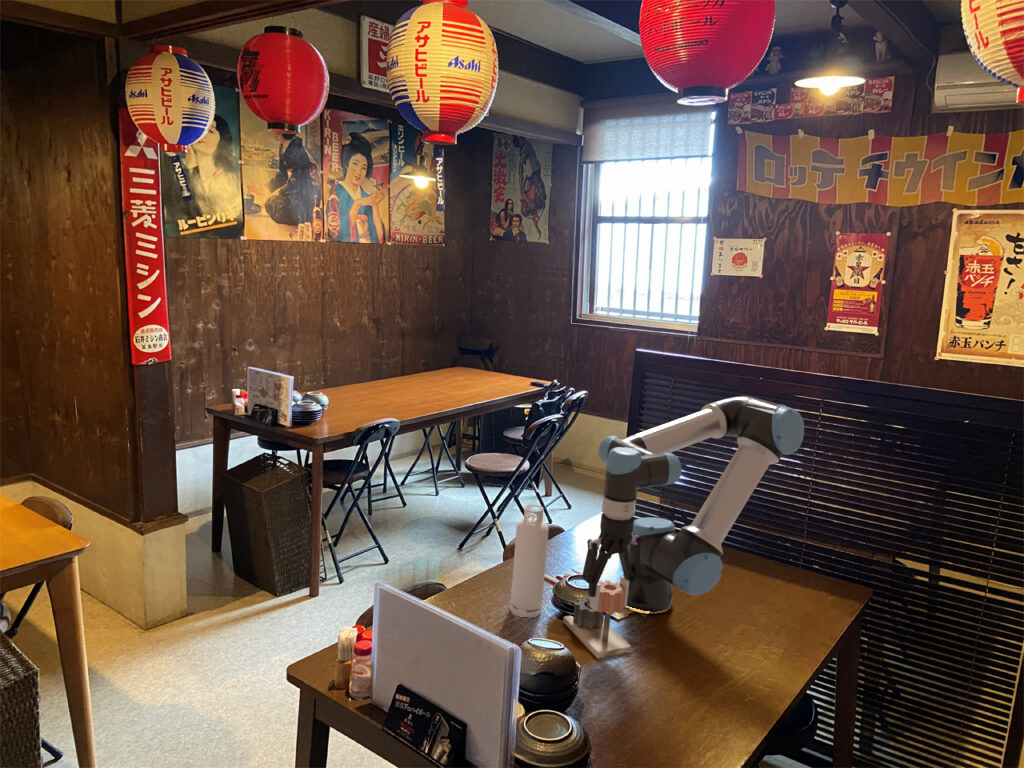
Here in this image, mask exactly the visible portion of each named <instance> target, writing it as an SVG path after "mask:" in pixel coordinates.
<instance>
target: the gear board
mask: <svg viewBox="0 0 1024 768" xmlns="http://www.w3.org/2000/svg"><path fill="white" fill-rule="evenodd" d="M587 597H588V598H587V600H586V598H581V599H580V597H579V598H577V599H576V602H574V608H573V615H574V617H573V616H571V615H565V616H563V620H562V621H563V624H564V625H565V626H566V627H567V628H568V629H569V630H570V631H571V632H572V633H573V635H575V636H576V638H577V639H578V640H579V641H580V642H581V643H582V644H583V645H584V646H585V647H586V648H587V650H589V652H591V654H593V655H594V657H596V658H597V659H603V658H608V657H612V656H617V654H618V655H622V654H621V653H623V654H626V653H625V652H627V651H632V646H631V644H630V643H628V641H626V640H625V639H624V638H623V637H622V636H621V635H620V634H619V633H618V632H617V631H616V630H615V629H614V628H613V627H612V626H611V625H610V624H611V616H612V615H608V613H607V612H601V613H600V612H598V611H594V610H593V609H592V608H591V607H590V606H589V605H590V596H587ZM577 602H578V603H577ZM585 605H587V606H585Z"/></svg>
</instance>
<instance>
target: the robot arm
mask: <svg viewBox="0 0 1024 768" xmlns="http://www.w3.org/2000/svg"><path fill="white" fill-rule="evenodd" d="M804 435H805V423H804V419H803V417H802V415H801V414H800V413H799V411H797V409H794V408H792V407H790V406H787V405H786V404H778V403H775V402H772V401H768V400H766V399H765V400H764V399H761V398H759V397H754V396H752V395H751V396H749V395H739V396H738V395H737V396H732V397H727V398H724V399H720V400H717V401H713V402H711V403H707V404H705V405H704V406H703V407H702V408H701V409H700V410H699V411H695V412H694V413H691V414H688V415H685V416H683V417H680V418H676V419H673V420H671V421H668V422H666V423H662V424H659V425H658V426H655V427H654V426H653V427H651V428H647V429H646V430H643V431H641V432H640V431H639V432H637V433H635V434H632V435H628V436H626V437H620V436H618V435H617V436H616V435H608V436H606V437H605V438H604V439H603V440H602V441H601V442H600V443H599V446H598V457H599V459H600V460H601V462H603V463H604V464H605V475H604V476H605V477H604V489H603V490H604V491H603V496H602V504H601V505H602V506H601V512H602V513H601V514H600V516H601V517H600V525H599V527H600V534H599V536H598V538H595V539H594V540H593V539H592V538H589V539H588V540H587V541H586V542H587V551H586V552H587V553H586V557H585V561H584V566H583V571H582V575H581V578H582V579H583V580H584V581H585V582H586V583H587V584H588V591H587V593H588V595H589V597H590V605H589V606H590V607H591V608H592V609H593V610H594V611H598V606H599V597H600V588H601V585H600V584H599V583H598V582H599V581H600V580H601V577H602V575H603V573H604V571H605V568H606V566H607V563H608V561H609V560H610V559H611V558H612V557H613V555H615V554H618V556H619V561H620V564H621V565H620V566H621V569H622V572H623V573H622V574H623V575H621V576H620V579H619V583H620V584H621V587H625V588H626V593H625V602H624V607H625V606H629V607H632V608H636V609H640V610H643V611H650V612H657V611H662V610H665V609H668V608H669V607H670V606H671V605H672V606H673V601H674V599H673V597H674V596H673V591H672V587H671V585H672V586H674V587H675V588H676V589H678V590H679V591H682V592H684V593H686V594H688V595H690V596H701V595H702V594H706V593H707V592H709V591H711V590H712V589H713V588H714V587H715V586H716V585H717V584H718V582H719V581H720V579H721V577H722V574H723V571H722V570H723V568H724V567H723V566H724V565H723V561H722V559H721V557H722V555H723V554H724V551H723V547H722V543H723V541H724V540H725V538H726V537H727V535H728V533H730V530H731V529H732V528H733V525H734V523H735V522H736V520H737V519H738V517H739V515H740V514H741V512H742V510H743V509H744V507H745V505H746V504H747V503H748V501H749V499H750V497H751V496H752V494H753V492H754V490H755V489H756V488H757V486H758V484H759V482H760V481H761V479H762V478H763V476H764V475H765V473H766V471H767V469H768V467H769V466H771V465H773V464H774V465H775V464H777V463H779V461H780V460H781V459H782V457H783V455H784V456H785V455H786V456H787V455H792V454H794V453H795V452H797V451H798V450H799V448H800V447H801V445H802V442H803V440H804ZM723 437H733V438H735V437H736V440H737V445H738V448H737V450H736V451H735V453H734V455H733V456H732V458H731V459H730V461H729V463H728V465H727V466H726V467H725V469H724V471H723V473H722V474H721V475H720V477H719V479H718V480H717V482H716V483H715V485H714V487H713V488H712V490H711V491H710V493H709V495H708V496H707V498H706V500H705V501H704V503H703V505H702V506H701V508H700V510H699V511H698V512H697V514H696V515H695V518H694V519H693V521H692V522H691V524H689V525H686V526H682V527H681V528H680V530H679V532H678V533H675V531H676V525H675V523H674V522H673V521H671V520H670V519H666V518H661V517H649V516H648V517H641V518H640V517H639V518H637V519H635V517H634V516H635V513H636V503H637V497H638V490H639V489H646V488H647V489H648V488H654V487H656V488H657V487H666V486H668V485H672V484H675V483H677V482H678V480H680V477H681V475H682V474H681V473H682V465H681V462H680V460H679V459H680V458H678V457H677V455H675V454H673V452H676V451H679V450H681V449H684V448H686V447H689V446H691V445H694V444H697V443H700V442H702V441H705V440H707V439H710V438H713V439H721V438H723Z"/></svg>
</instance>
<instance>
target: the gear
mask: <svg viewBox="0 0 1024 768" xmlns="http://www.w3.org/2000/svg"><path fill="white" fill-rule="evenodd" d="M598 583H599V584H600V585H601V588H600V597H599V606H598V612H600V613H601V612H604V613H608V615H611V616H612V615H614V614H615V613H616V614H617V613H618V614H619V615H620V614H622V613H623V610H624V609H625V608H624V602H625V593H626V588H625V587H621V584H620V582H617V581H616V582H612V581H611V580H610V579H609V580H608V579H605V581H600V580H599V582H598Z"/></svg>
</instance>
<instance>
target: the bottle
mask: <svg viewBox="0 0 1024 768" xmlns="http://www.w3.org/2000/svg"><path fill="white" fill-rule="evenodd" d="M532 508H539V509H540V510H538V511H537V510H536V511H535V510H532ZM523 509H524V511H523V512H524V513H523V518H522V519H521V520H520V521H518V523H517V524H516V526H515V527H516V529H515V541H514V542H515V544H514V558H513V566H512V567H513V570H512V581H511V584H512V585H511V596H510V608H509V609H511V610H510V612H511V613H512V614H513V615H514V614H515V615H514V616H516V615H518V616H521V617H520V618H522V617H534V618H537V617H539V616H540V615H541V614H542V612H541V611H543V605H542V604H543V598H544V587H545V586H544V585H545V572H546V564H547V553H548V552H547V550H548V542H549V541H548V539H549V525H548V524H547V522H545V521H544V507H543V506H541V505H539V504H532V503H531V504H527V505H525V506H524V508H523ZM539 614H540V615H539ZM538 615H539V616H538ZM518 616H517V617H518ZM536 616H537V617H536Z"/></svg>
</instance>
